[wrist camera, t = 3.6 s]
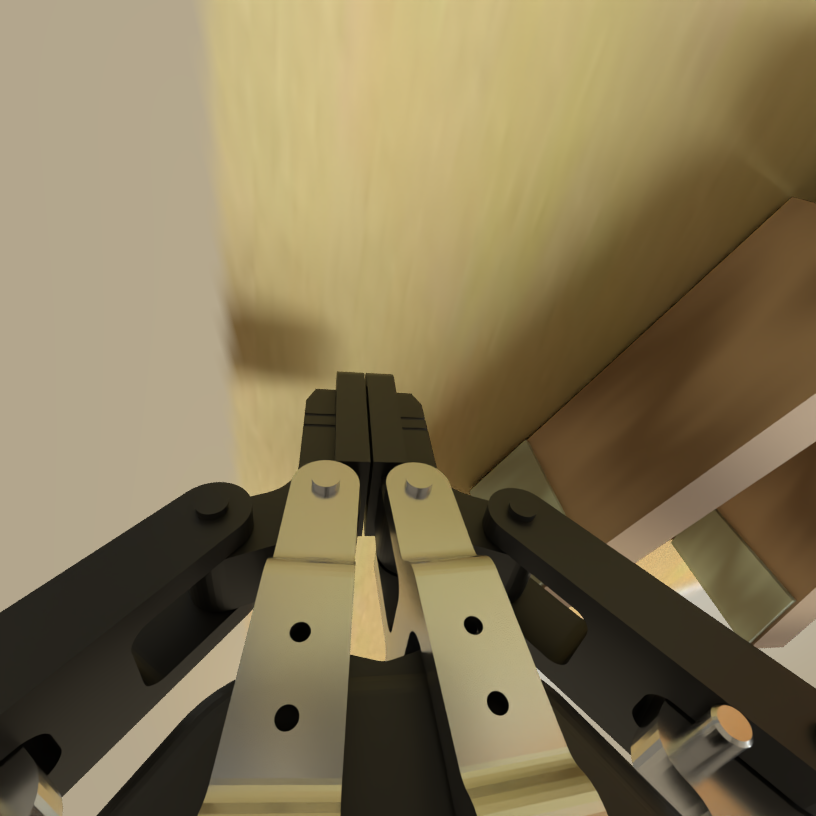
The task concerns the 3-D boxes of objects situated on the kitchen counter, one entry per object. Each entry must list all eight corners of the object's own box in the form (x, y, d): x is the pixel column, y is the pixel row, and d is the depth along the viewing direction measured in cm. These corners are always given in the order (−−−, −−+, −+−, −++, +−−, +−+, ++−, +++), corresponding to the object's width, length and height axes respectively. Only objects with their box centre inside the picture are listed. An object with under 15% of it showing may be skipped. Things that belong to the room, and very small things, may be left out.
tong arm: (790, 193, 12) (1008, 249, 8) (817, 234, 13) (1027, 304, 9) (469, 489, 18) (506, 611, 14) (501, 505, 18) (546, 626, 14)
